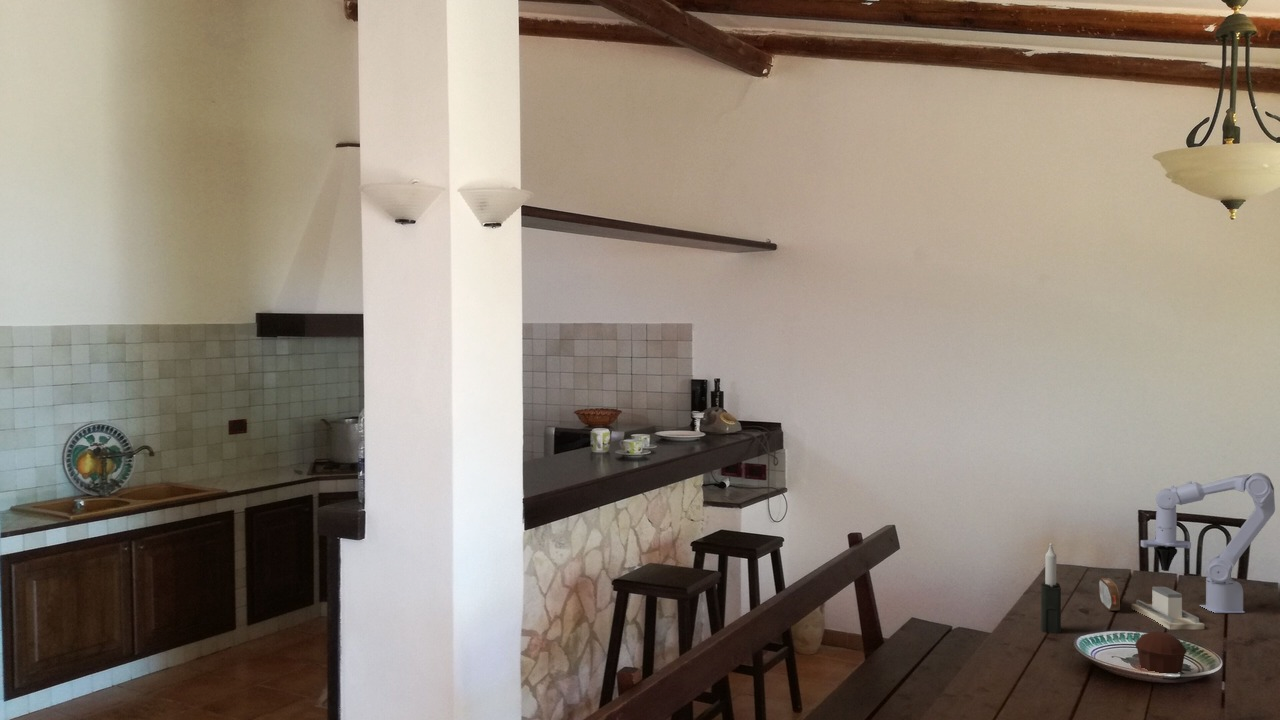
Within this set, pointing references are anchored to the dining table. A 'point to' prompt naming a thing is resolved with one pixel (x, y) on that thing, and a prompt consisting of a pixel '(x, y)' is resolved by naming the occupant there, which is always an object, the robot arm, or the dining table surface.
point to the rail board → (1168, 617)
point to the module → (1167, 601)
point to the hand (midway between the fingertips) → (1165, 570)
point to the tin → (1109, 594)
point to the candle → (1050, 596)
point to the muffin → (1160, 652)
